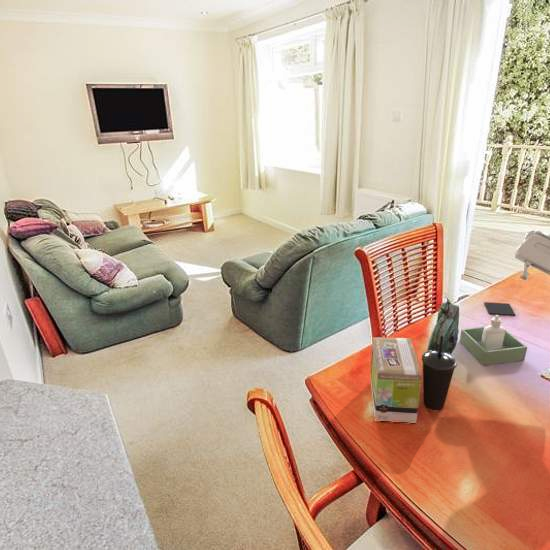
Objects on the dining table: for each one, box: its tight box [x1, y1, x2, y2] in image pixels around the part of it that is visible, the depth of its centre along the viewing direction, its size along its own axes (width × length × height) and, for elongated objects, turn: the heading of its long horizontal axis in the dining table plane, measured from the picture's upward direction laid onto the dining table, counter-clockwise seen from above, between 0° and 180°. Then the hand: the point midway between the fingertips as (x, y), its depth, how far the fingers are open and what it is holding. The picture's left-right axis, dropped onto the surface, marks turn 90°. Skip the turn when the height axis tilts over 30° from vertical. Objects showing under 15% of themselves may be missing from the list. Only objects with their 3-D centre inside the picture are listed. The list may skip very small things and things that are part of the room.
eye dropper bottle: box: [480, 315, 506, 351], centre depth 109 cm, size 4×6×12 cm
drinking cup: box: [421, 336, 458, 411], centre depth 90 cm, size 8×8×20 cm
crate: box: [459, 325, 528, 366], centre depth 110 cm, size 12×12×4 cm
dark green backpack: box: [426, 297, 460, 355], centre depth 102 cm, size 20×6×20 cm, turn 146°
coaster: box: [483, 301, 516, 317], centre depth 131 cm, size 8×8×1 cm
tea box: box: [370, 336, 423, 424], centre depth 93 cm, size 15×10×15 cm, turn 171°
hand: (540, 287), depth 99 cm, fingers open, 8 cm apart
